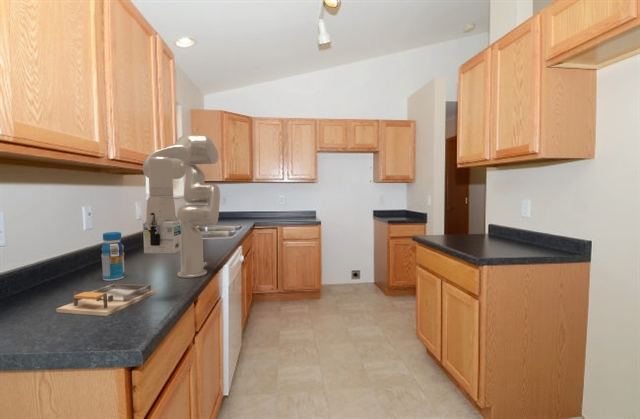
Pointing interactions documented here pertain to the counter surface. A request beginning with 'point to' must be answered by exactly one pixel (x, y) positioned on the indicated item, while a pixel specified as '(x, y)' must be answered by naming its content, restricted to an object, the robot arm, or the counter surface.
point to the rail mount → (108, 300)
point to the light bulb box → (164, 238)
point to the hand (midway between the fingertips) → (163, 243)
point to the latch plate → (89, 295)
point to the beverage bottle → (112, 257)
